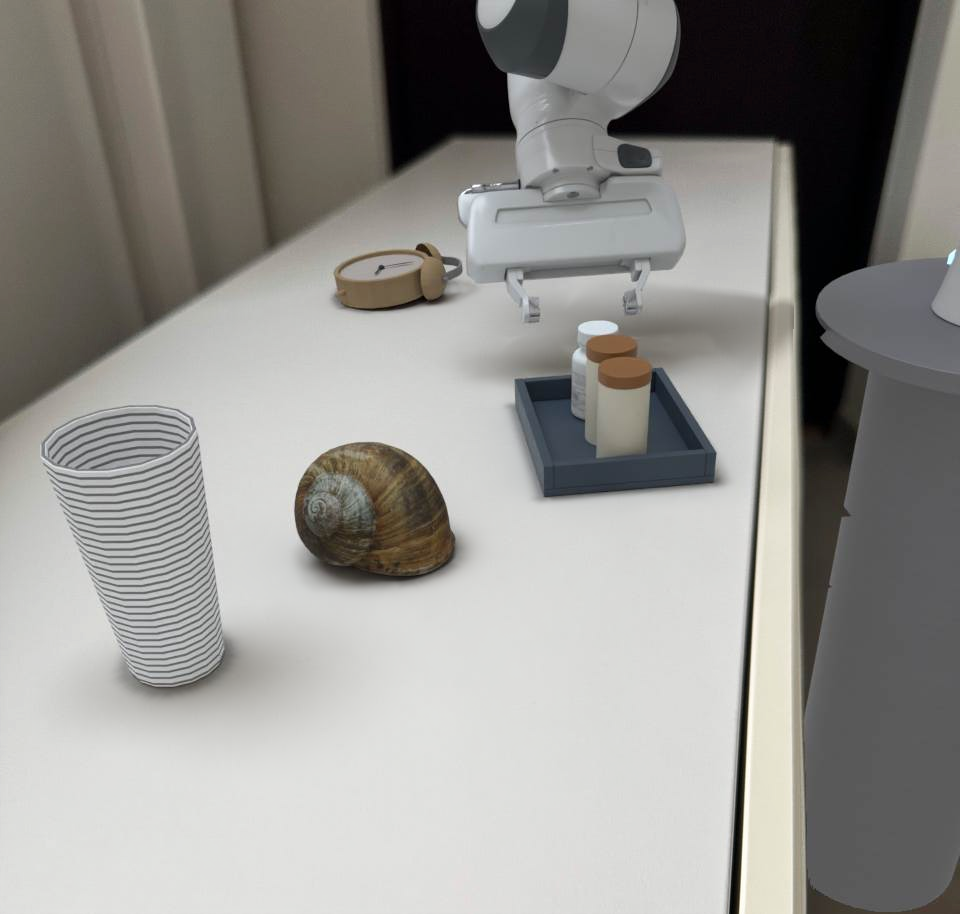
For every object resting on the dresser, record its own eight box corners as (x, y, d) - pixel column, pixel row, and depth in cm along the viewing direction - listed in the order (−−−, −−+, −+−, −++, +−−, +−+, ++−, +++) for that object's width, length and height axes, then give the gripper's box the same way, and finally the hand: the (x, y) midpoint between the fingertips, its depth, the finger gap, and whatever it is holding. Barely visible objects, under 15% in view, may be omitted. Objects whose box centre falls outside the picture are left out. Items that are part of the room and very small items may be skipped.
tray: (660, 394, 97) (662, 367, 96) (713, 482, 83) (717, 452, 82) (515, 405, 97) (514, 378, 95) (543, 496, 82) (543, 466, 81)
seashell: (278, 575, 75) (260, 474, 70) (334, 512, 82) (320, 416, 77) (426, 598, 72) (417, 493, 67) (471, 530, 79) (466, 432, 74)
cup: (94, 648, 68) (24, 427, 59) (219, 607, 72) (171, 392, 63) (129, 719, 62) (57, 486, 53) (264, 671, 66) (218, 443, 57)
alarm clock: (330, 258, 126) (451, 226, 125) (342, 298, 129) (461, 267, 128) (331, 288, 117) (461, 253, 116) (343, 330, 120) (471, 297, 119)
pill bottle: (607, 426, 91) (610, 339, 86) (562, 417, 93) (563, 331, 88) (629, 407, 94) (633, 322, 89) (585, 399, 96) (586, 315, 91)
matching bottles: (627, 425, 91) (631, 332, 86) (651, 473, 84) (657, 374, 79) (580, 428, 91) (581, 336, 86) (600, 477, 83) (603, 379, 79)
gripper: (455, 164, 94) (470, 308, 92) (679, 149, 96) (699, 291, 94) (454, 204, 101) (468, 340, 99) (664, 189, 102) (682, 323, 100)
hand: (582, 316), depth 96 cm, fingers open, 8 cm apart
